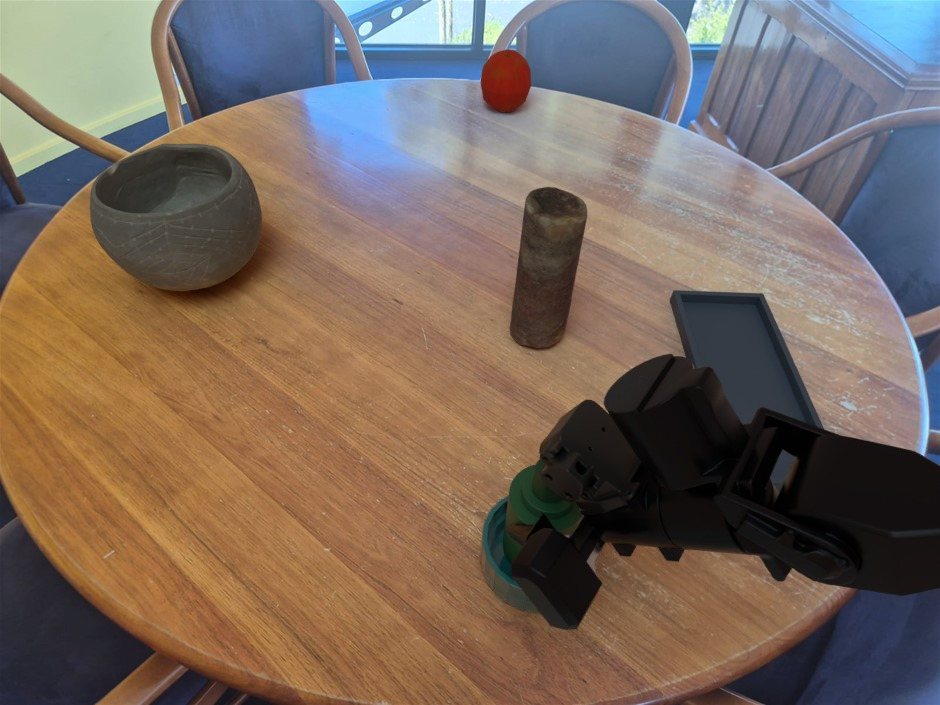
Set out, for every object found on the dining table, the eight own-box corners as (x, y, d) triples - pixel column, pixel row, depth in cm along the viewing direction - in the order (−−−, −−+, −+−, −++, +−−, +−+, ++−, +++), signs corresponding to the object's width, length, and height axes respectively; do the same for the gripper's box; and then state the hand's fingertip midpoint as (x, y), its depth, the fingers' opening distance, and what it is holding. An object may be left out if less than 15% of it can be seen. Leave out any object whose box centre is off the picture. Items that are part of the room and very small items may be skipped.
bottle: (584, 542, 58) (609, 467, 49) (543, 593, 55) (562, 522, 46) (530, 502, 61) (544, 423, 52) (488, 547, 58) (495, 472, 48)
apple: (490, 92, 132) (493, 35, 123) (535, 102, 129) (541, 44, 121) (472, 112, 125) (473, 53, 117) (518, 122, 123) (524, 63, 114)
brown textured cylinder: (531, 304, 86) (549, 177, 72) (576, 329, 83) (603, 201, 69) (498, 333, 82) (509, 205, 68) (543, 360, 79) (565, 231, 65)
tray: (841, 495, 67) (850, 485, 66) (725, 491, 67) (731, 481, 65) (758, 303, 88) (763, 293, 86) (669, 300, 88) (673, 289, 86)
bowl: (232, 330, 82) (198, 236, 71) (90, 303, 84) (36, 209, 73) (297, 236, 96) (278, 146, 85) (173, 216, 98) (139, 126, 87)
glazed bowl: (604, 558, 61) (614, 534, 58) (542, 638, 56) (549, 617, 52) (523, 496, 66) (527, 471, 62) (459, 565, 60) (459, 541, 57)
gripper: (680, 332, 45) (536, 366, 57) (552, 521, 35) (408, 514, 47) (749, 447, 48) (597, 456, 60) (650, 655, 37) (490, 615, 50)
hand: (530, 502), depth 54 cm, fingers closed on bottle, 6 cm apart
